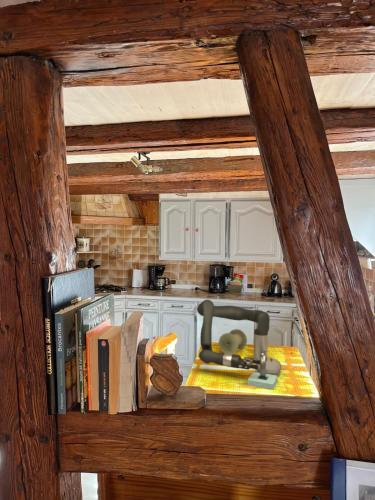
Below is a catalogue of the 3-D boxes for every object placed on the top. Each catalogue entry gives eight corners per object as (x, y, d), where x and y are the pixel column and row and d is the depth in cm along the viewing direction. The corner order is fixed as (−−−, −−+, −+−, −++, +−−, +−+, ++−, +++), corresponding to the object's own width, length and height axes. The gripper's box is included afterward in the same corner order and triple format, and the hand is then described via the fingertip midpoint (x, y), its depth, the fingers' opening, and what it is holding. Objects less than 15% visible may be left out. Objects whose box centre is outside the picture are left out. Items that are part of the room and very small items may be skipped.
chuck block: (253, 376, 201) (253, 371, 201) (277, 380, 195) (277, 375, 195) (247, 385, 188) (247, 379, 188) (273, 389, 182) (273, 384, 182)
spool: (237, 356, 238) (237, 335, 238) (218, 352, 246) (218, 332, 246) (246, 350, 252) (246, 330, 252) (228, 347, 260) (228, 327, 260)
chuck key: (261, 380, 195) (261, 350, 195) (266, 381, 194) (267, 351, 194) (258, 384, 189) (259, 353, 189) (264, 385, 187) (264, 354, 187)
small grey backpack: (257, 366, 219) (255, 377, 200) (257, 353, 219) (255, 363, 200) (281, 368, 215) (281, 380, 196) (281, 355, 215) (281, 366, 196)
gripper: (228, 357, 192) (256, 362, 186) (235, 351, 205) (262, 354, 199) (228, 370, 192) (256, 375, 186) (235, 363, 205) (261, 367, 199)
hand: (259, 364), depth 192 cm, fingers open, 8 cm apart
